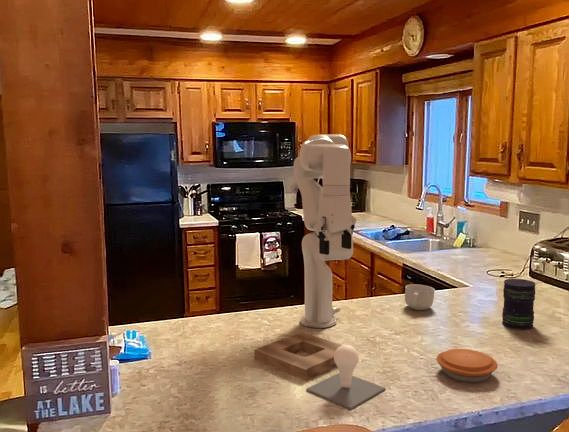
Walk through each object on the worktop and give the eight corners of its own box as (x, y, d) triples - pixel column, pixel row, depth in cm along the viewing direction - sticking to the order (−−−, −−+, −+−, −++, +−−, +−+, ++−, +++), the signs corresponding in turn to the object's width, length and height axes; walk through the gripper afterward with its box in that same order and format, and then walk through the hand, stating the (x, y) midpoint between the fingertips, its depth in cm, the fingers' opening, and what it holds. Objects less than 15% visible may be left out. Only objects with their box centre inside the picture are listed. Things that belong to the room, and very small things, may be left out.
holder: (301, 341, 165) (301, 331, 165) (352, 358, 151) (352, 348, 151) (254, 359, 151) (254, 349, 151) (305, 380, 137) (305, 369, 137)
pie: (429, 362, 148) (430, 345, 148) (484, 362, 148) (485, 345, 147) (444, 386, 133) (445, 368, 132) (506, 386, 133) (507, 368, 132)
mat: (341, 373, 141) (341, 371, 141) (385, 389, 131) (385, 387, 131) (306, 390, 131) (306, 388, 131) (350, 409, 122) (351, 407, 122)
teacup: (411, 302, 205) (411, 282, 204) (438, 306, 199) (439, 286, 198) (396, 311, 194) (396, 290, 193) (424, 316, 188) (425, 294, 187)
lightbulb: (344, 380, 136) (344, 339, 134) (363, 387, 132) (363, 345, 130) (328, 387, 132) (328, 345, 130) (348, 395, 127) (348, 352, 126)
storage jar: (525, 332, 171) (527, 287, 169) (496, 325, 178) (498, 282, 176) (538, 325, 177) (541, 282, 175) (510, 318, 185) (512, 277, 183)
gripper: (345, 187, 154) (344, 244, 157) (304, 192, 142) (304, 254, 145) (365, 189, 149) (364, 248, 151) (326, 194, 137) (325, 258, 139)
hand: (335, 251), depth 148 cm, fingers open, 9 cm apart
